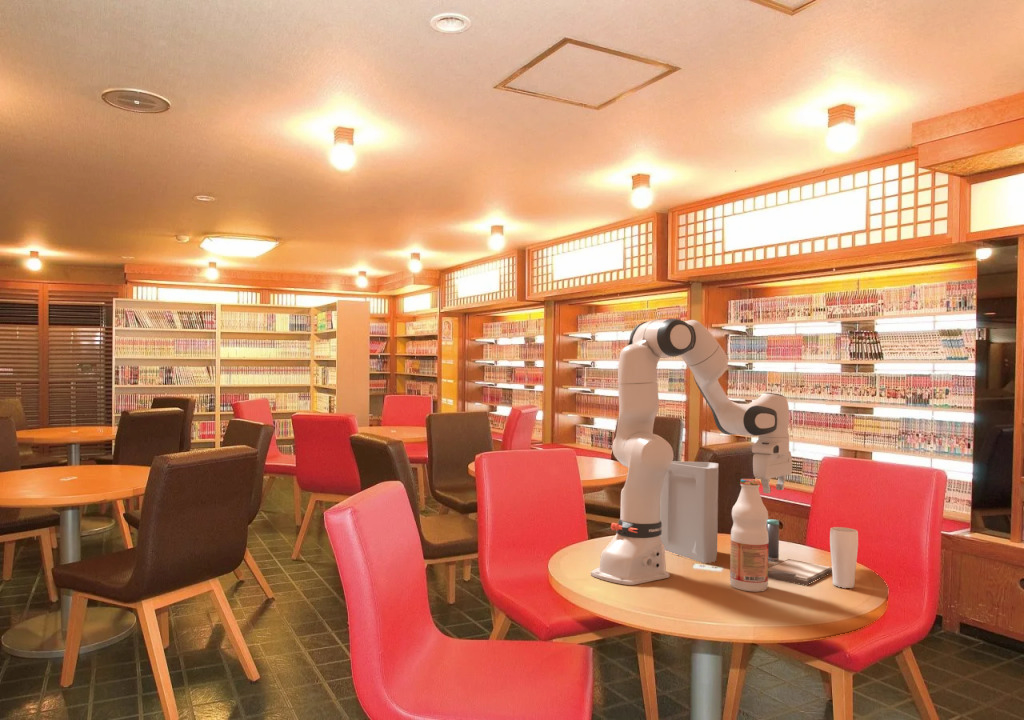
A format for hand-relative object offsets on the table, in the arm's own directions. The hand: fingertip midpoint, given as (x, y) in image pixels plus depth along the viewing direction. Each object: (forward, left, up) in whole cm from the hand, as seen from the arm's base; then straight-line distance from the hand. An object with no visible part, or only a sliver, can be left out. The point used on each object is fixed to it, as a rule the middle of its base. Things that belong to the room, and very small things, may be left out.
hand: (773, 491), depth 212 cm
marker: (0, 0, -21) cm, 21 cm away
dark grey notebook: (-10, -11, -21) cm, 26 cm away
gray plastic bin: (-11, +19, -21) cm, 30 cm away
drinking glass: (-13, -25, -21) cm, 35 cm away
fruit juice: (-33, -8, -21) cm, 40 cm away
